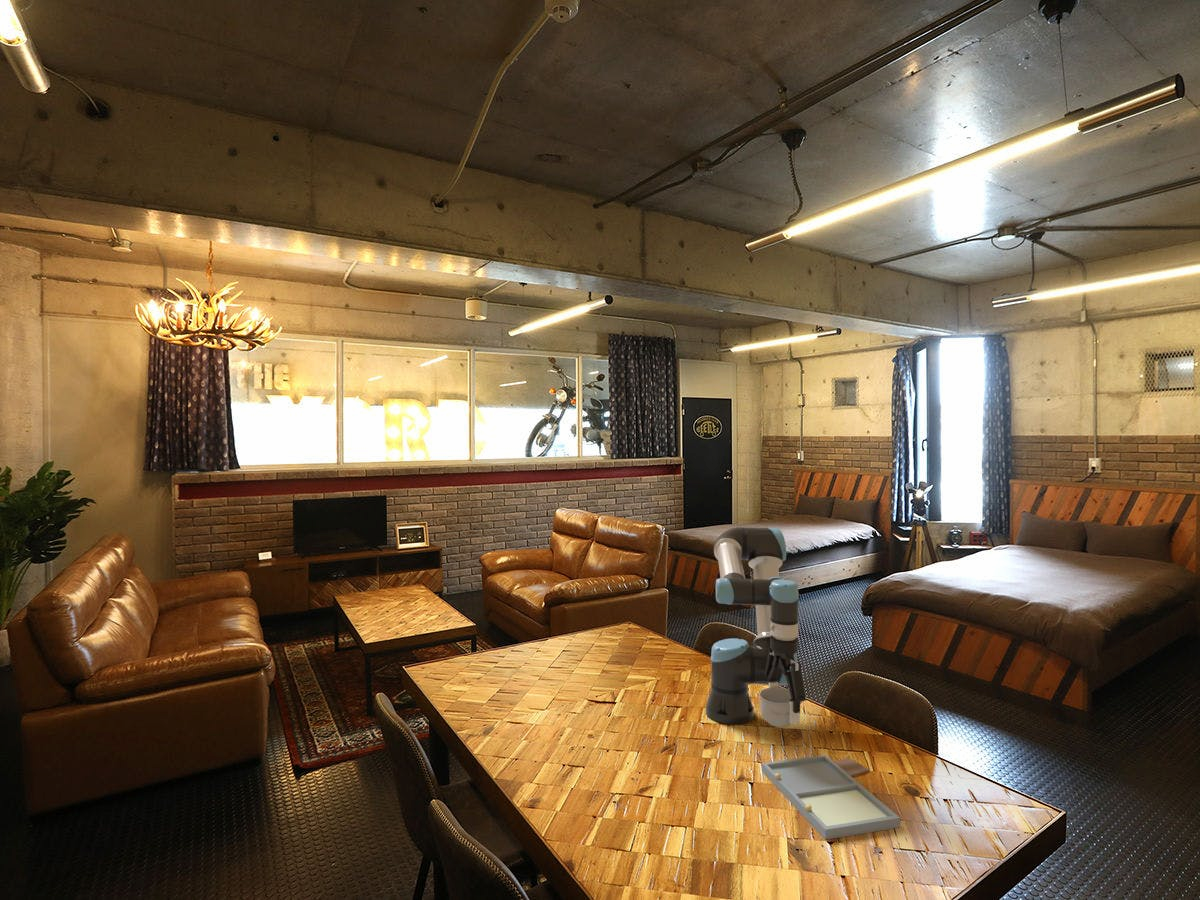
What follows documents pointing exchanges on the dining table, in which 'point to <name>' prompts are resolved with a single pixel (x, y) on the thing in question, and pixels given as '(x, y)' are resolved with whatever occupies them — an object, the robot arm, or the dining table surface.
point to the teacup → (775, 706)
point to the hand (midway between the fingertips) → (783, 713)
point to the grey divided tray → (829, 797)
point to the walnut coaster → (851, 767)
